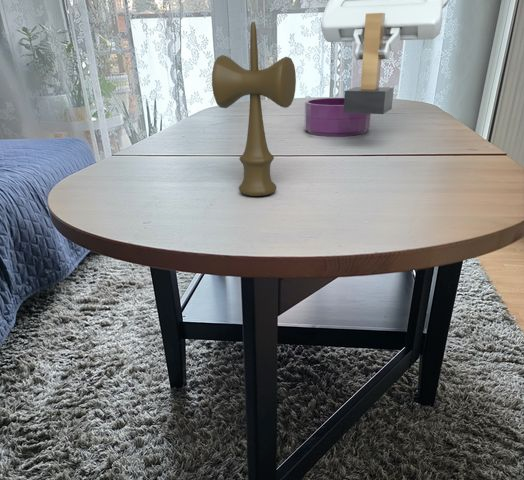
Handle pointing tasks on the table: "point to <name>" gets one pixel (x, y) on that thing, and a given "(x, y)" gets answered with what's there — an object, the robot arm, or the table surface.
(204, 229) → the table surface
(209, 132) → the table surface
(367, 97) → the brush
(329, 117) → the bowl
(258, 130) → the kendama
